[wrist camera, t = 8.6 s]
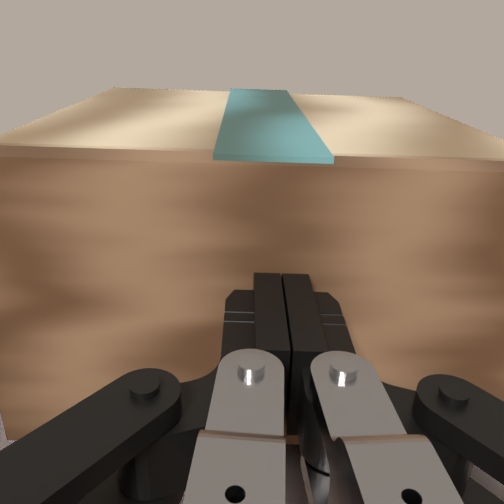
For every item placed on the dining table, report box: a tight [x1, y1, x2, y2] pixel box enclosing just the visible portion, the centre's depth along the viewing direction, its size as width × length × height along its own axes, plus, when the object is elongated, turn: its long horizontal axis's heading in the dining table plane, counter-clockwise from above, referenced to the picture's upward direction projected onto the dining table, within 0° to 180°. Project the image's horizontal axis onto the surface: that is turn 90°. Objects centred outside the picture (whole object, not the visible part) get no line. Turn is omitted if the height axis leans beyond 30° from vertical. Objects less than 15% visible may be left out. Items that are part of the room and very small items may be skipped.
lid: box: [0, 88, 504, 445], centre depth 20 cm, size 16×16×9 cm
